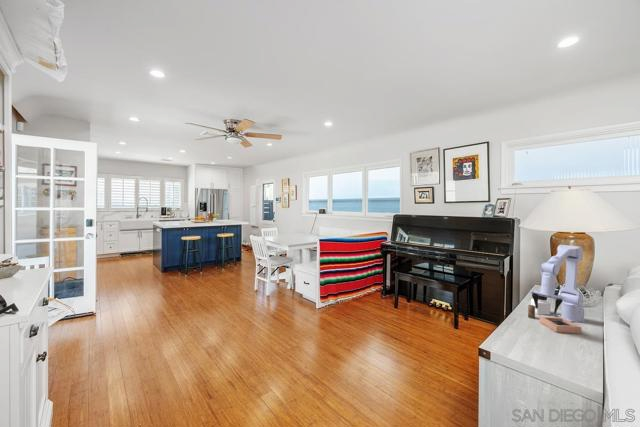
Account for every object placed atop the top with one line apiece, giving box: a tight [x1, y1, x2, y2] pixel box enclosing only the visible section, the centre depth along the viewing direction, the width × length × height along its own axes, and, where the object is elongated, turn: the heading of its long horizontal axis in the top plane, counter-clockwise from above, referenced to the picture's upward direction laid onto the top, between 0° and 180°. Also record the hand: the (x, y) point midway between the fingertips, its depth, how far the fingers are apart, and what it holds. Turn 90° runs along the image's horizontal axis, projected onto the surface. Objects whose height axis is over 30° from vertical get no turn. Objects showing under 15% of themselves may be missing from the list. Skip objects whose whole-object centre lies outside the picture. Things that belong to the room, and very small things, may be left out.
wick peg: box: [527, 304, 536, 320], centre depth 159 cm, size 3×3×7 cm
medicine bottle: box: [530, 295, 551, 316], centre depth 166 cm, size 7×7×12 cm
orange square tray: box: [539, 316, 582, 335], centre depth 145 cm, size 12×12×4 cm
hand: (545, 310), depth 142 cm, fingers open, 7 cm apart
